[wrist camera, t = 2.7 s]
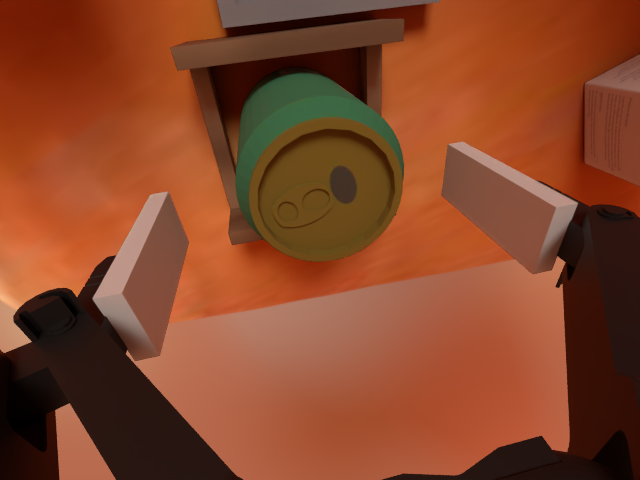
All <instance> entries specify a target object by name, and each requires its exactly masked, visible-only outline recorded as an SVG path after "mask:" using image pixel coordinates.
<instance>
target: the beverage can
mask: <svg viewBox="0 0 640 480" xmlns="http://www.w3.org/2000/svg"><path fill="white" fill-rule="evenodd" d="M403 177H404V163H403V155H402V151H401V148H400V144H399V141H398V139H397V138H396V136H395V134H394V132H393V130H392V129H391V127H390V126H389V125H388V124H387V122H386V121H385V120H384V119H383V118H382V117H381V116H380V115H379V114H377V113H376V112H375V111H374V110H373V109H371V108H370V107H368V106H367V105H366V104H364V103H363V102H362V101H360V100H359V99H357V98H356V97H355V96H353V95H352V94H351V93H349V92H348V91H346V90H345V89H344V88H342V87H341V86H340V85H338V84H337V83H335V82H334V81H333V80H331V79H330V78H329V77H327V76H325V75H324V74H322V73H320V72H318V71H315V70H312V69H308V68H303V67H291V68H285V69H281V70H278V71H275V72H273V73H271V74H269V75H268V76H266V77H264V78H263V79H262V80H261V81H260V82H258V83H257V84H256V86H255V87H254V88H253V89H252V90H251V92H250V93H249V95H248V97H247V98H246V100H245V103H244V105H243V108H242V113H241V117H240V129H239V141H238V153H237V165H236V180H235V187H236V195H237V200H238V203H239V206H240V209H241V211H242V213H243V215H244V217H245V219H246V221H247V222H248V224H249V225H250V226H251V228H252V229H253V230H254V231H255V232H256V233H257V234H258V235H259V236H260V237H261V238H262V239H264V240H265V241H267V242H268V243H269V244H270V245H271V246H273V247H274V248H276V249H277V250H278V251H280V252H282V253H284V254H286V255H288V256H290V257H293V258H296V259H300V260H305V261H315V262H322V261H332V260H337V259H341V258H344V257H347V256H350V255H352V254H354V253H356V252H359V251H361V250H362V249H364V248H365V247H367V246H368V245H370V244H371V243H372V242H373V241H375V240H376V239H377V238H378V237H379V236H380V235H381V234H382V233H383V232H384V231H385V230H386V228H387V227H388V225H389V224H390V223H391V221H392V219H393V218H394V216H395V214H396V212H397V209H398V206H399V204H400V200H401V195H402V186H403Z"/></svg>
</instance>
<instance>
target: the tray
mask: <svg viewBox="0 0 640 480" xmlns="http://www.w3.org/2000/svg"><path fill="white" fill-rule="evenodd" d="M436 2H440V0H217V3H218V8H219V12H220V17H221V21H222V25H223V28H228V27H237V26H245V25H253V24H261V23H270V22H278V21H286V20H295V19H303V18H311V17H320V16H328V15H336V14H344V13H353V12H361V11H369V10H378V9H386V8H394V7H402V6H411V5H419V4H427V3H436Z"/></svg>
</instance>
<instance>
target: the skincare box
mask: <svg viewBox="0 0 640 480" xmlns="http://www.w3.org/2000/svg"><path fill="white" fill-rule="evenodd" d="M584 163H585V164H588V165H590V166H592V167H594V168H597V169H599V170H602V171H604V172H606V173H609V174H611V175H614V176H616V177H618V178H621V179H623V180H625V181H628V182H630V183H633V184H635V185H637V186H640V54H639V55H637V56H635V57H633V58H631V59H629V60H627V61H625V62H624V63H622V64H620V65H618V66H616V67H614V68H612V69H610V70H608V71H606V72H604V73H603V74H601V75H599V76H597V77H595V78H593V79H591V80H589V81H587V82H586V83H585V140H584Z"/></svg>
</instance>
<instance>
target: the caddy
mask: <svg viewBox="0 0 640 480" xmlns="http://www.w3.org/2000/svg"><path fill="white" fill-rule="evenodd" d="M400 41H404V19H369V20H361V21H353V22H345V23H337V24H329V25H321V26H313V27H304V28H296V29H288V30H280V31H272V32H264V33H256V34H248V35H239V36H231V37H223V38H215V39H207V40H199V41H191V42H185V43H182V44H180V45H177V46H174V47H171V48H170V49H171V52H172V55H173V58H174V61H175V65H176V68H177V71H178V70H186V69H190V72H191V75H192V79H193V82H194V86H195V89H196V93H197V96H198V99H199V103H200V106H201V110H202V113H203V116H204V120H205V123H206V127H207V130H208V134H209V137H210V140H211V144H212V147H213V151H214V154H215V157H216V161H217V164H218V168H219V171H220V174H221V178H222V181H223V185H224V188H225V192H226V195H227V198H228V202H229V205H230V209H231V210H230V221H229V231H228V234H229V237H230V240H231V244H232V245H236V244H241V243H247V242H252V241H258V240H263V239H262V238H261V237H260V236H259V235H258V234H257V233H256V232H255V231H254V230H253V229H252V228H251V226H250V225H249V224H248V222H247V221H246V219H245V217H244V215H243V213H242V211H241V209H240V206H239V203H238V200H237V195H236V187H235V180H236V166H235V162H234V158H233V155H232V151H231V147H230V143H229V139H228V135H227V132H226V128H225V124H224V120H223V116H222V112H221V109H220V105H219V101H218V97H217V93H216V89H215V85H214V82H213V78H212V74H211V70H210V66H216V65H224V64H232V63H239V62H247V61H255V60H262V59H270V58H278V57H285V56H293V55H301V54H308V53H316V52H324V51H331V50H339V49H346V48H354V47H360V67H361V101H362V102H363V103H364V104H366V105H367V106H368V107H370V108H371V109H373V110H374V111H375V112H376V113H377V114H379V115H380V116H381V76H382V44H385V43H392V42H400ZM395 215H396V214H395Z"/></svg>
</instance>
